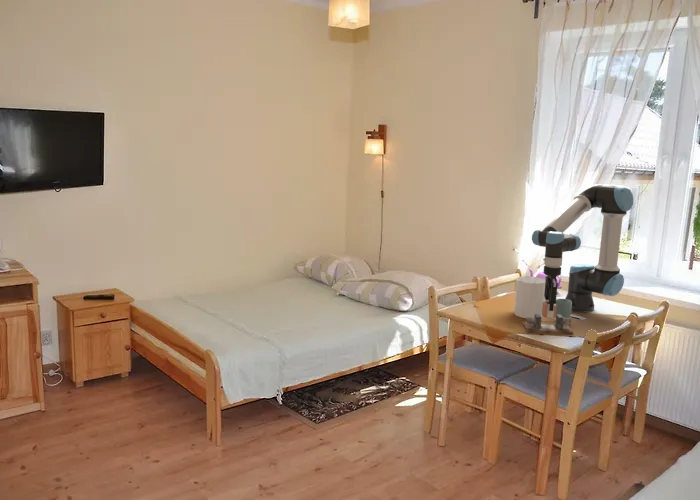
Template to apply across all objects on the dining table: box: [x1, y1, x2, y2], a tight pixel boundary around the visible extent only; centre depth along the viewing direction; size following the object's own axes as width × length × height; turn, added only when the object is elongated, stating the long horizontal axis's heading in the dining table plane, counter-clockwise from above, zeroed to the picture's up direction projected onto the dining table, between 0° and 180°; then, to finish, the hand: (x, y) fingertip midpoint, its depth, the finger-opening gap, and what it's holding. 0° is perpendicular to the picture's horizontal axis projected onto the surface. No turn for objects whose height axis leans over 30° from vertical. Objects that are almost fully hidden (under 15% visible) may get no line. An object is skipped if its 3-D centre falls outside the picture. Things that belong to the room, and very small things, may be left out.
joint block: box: [542, 302, 557, 319], centre depth 281 cm, size 5×5×7 cm
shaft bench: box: [523, 314, 574, 335], centre depth 282 cm, size 20×11×7 cm, turn 85°
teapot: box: [527, 268, 563, 290], centre depth 350 cm, size 20×14×12 cm
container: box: [513, 275, 546, 319], centre depth 304 cm, size 14×14×18 cm
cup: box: [554, 298, 572, 320], centre depth 296 cm, size 8×8×10 cm
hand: (548, 315), depth 281 cm, fingers closed on joint block, 5 cm apart
